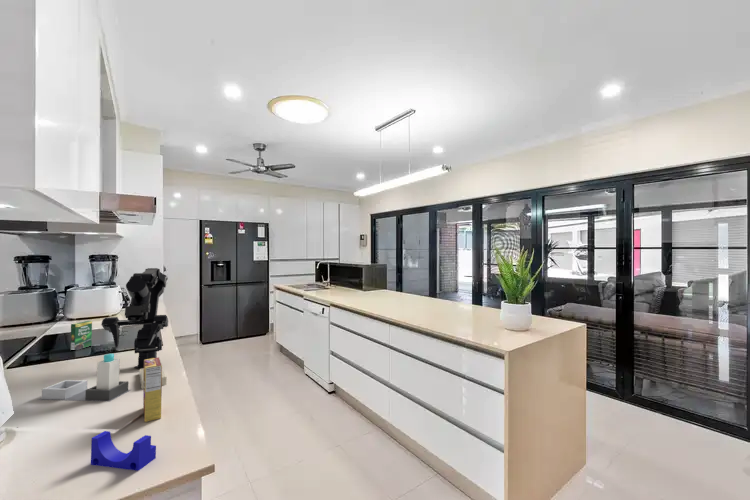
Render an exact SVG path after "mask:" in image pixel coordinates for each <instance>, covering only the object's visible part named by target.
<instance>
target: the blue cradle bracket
mask: <svg viewBox="0 0 750 500" xmlns="http://www.w3.org/2000/svg"><path fill="white" fill-rule="evenodd" d="M111 434H112V433H111V431H108V430H104V431H103V432H100V433H99V434H96V435H95V436H93V437H91V443H90V444H91V447H90V449H91V451H90V465H91V466H96V467H105V468H114V469H119V470H120V469H121V470H128V471H129V470H131V471H137V472H139V471H140V470H142V469H143V468H145V467H146V466H147V465H148V464H150V463H151V462H153V461H154V460H155V459H156V458H157V456H156V454H157V445H155V444H154V445H153V444H152V436H151V435H146V434H145V435H144V436H141V437H140V438H138V439H137V440H135V441H134V442H133V445H132V449H131V450H130V451H128V452H127V453H125V452H122V451H121V450H119V449H118V448H117V447H116V446H115V444H114V442H113V439H112V435H111Z"/></svg>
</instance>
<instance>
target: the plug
mask: <svg viewBox="0 0 750 500" xmlns="http://www.w3.org/2000/svg"><path fill="white" fill-rule="evenodd" d="M120 363H121V362H120V358H115V354H114V353H106V354H104V355H103V360H101V361H97V364H96V365H97V366H96V370H97V371H96V385H95V386H96V389H106V390H109V389H111V388H114V387H116V386H118V385H119V381H120V366H121V365H120Z"/></svg>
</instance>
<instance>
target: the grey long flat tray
mask: <svg viewBox="0 0 750 500" xmlns="http://www.w3.org/2000/svg"><path fill="white" fill-rule="evenodd" d="M131 391H132V389H129V381H127V380H126V381H124V380H123V381H121V380H119V385H118V386H116V387H114V388H111V389H109V390H106V389H96V385H94V386H92V387H89V388H88V380H83V379H82V380H79V379H78V380H76V379H75V380H73V379H63V380H62V381H59V382H57V383H55V384H52V385H49V386H46V387H43V388H42V389H41V397H40V398H38V399H36V401H72V402H73V401H74V402H75V401H76V402H106V403H107V402H111V401H113V400H115V399H117V398H119V397H122V396H123V395H124V394H126V393H129V392H131Z"/></svg>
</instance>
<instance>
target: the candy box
mask: <svg viewBox="0 0 750 500" xmlns="http://www.w3.org/2000/svg"><path fill="white" fill-rule="evenodd" d="M162 367H163V365H162V362H161V359H160V357H157V358H152V359H146V360H144V378H143V389H142V390H143V394H142V395H143V398H142V400H143V402H142V403H143V416H144V417H143V418H144V423H147V422H153V421H156V420H159V419H162V398H163V397H162V394H163V393H162V391H163V390H162V389H163V388H162V386H163V385H162Z"/></svg>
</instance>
